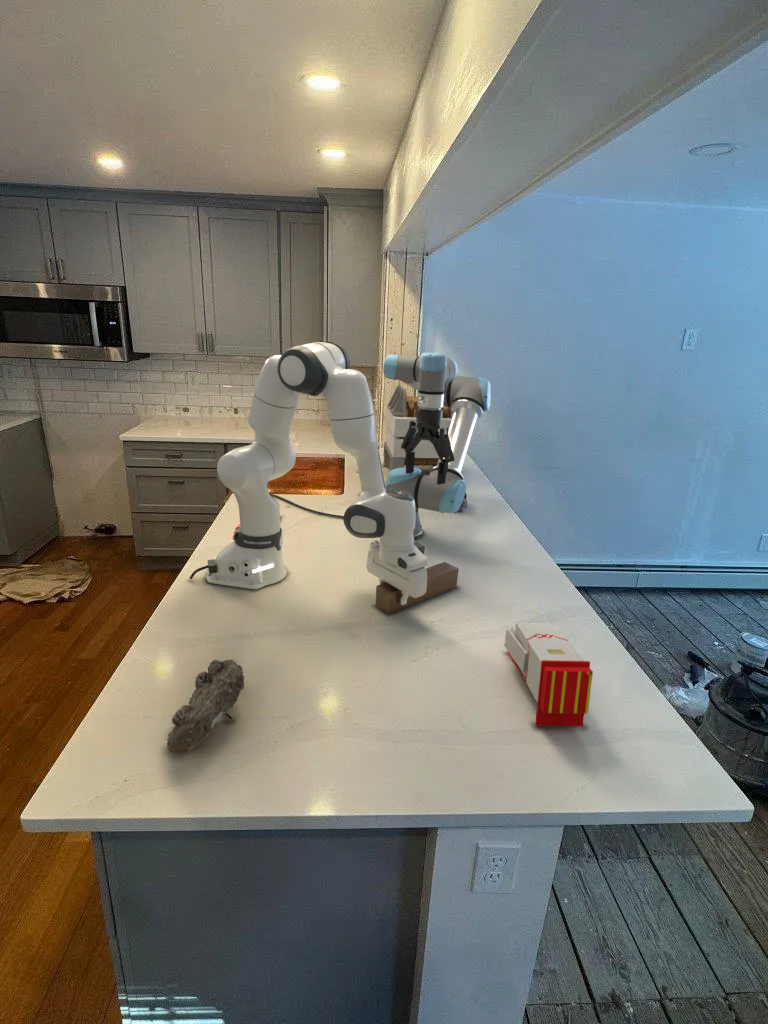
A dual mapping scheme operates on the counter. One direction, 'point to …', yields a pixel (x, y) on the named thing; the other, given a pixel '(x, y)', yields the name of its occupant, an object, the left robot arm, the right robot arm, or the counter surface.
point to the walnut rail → (437, 583)
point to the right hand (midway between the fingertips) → (424, 478)
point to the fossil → (206, 705)
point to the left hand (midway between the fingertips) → (393, 598)
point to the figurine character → (464, 502)
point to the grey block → (420, 547)
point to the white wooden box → (398, 423)
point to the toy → (551, 672)
